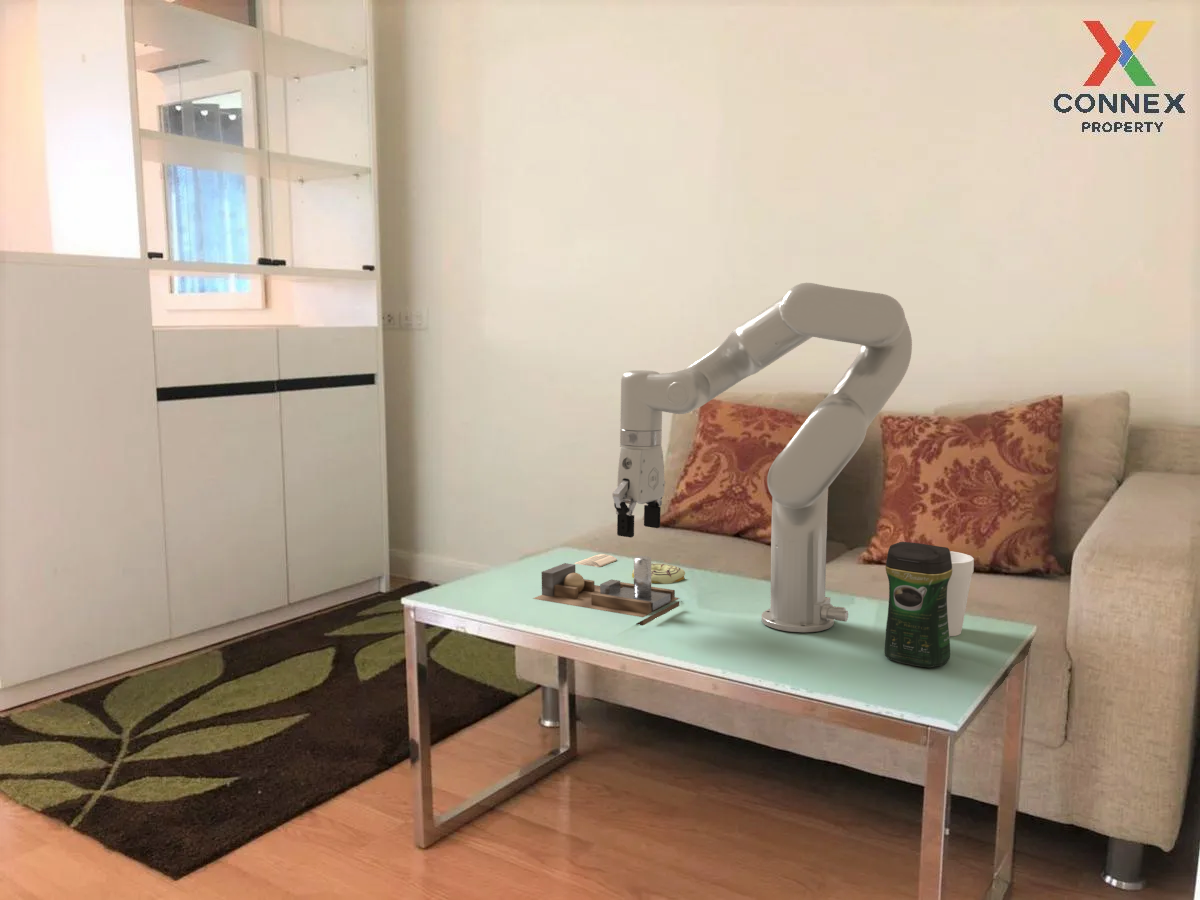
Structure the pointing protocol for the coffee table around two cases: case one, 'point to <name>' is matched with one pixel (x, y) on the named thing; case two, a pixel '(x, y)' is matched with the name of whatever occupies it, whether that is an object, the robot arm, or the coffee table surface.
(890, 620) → the coffee jar
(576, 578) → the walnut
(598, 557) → the newspaper
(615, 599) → the brown piece
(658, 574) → the decorated donut
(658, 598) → the ram
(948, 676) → the coffee table surface
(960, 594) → the foam cup
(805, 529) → the robot arm
